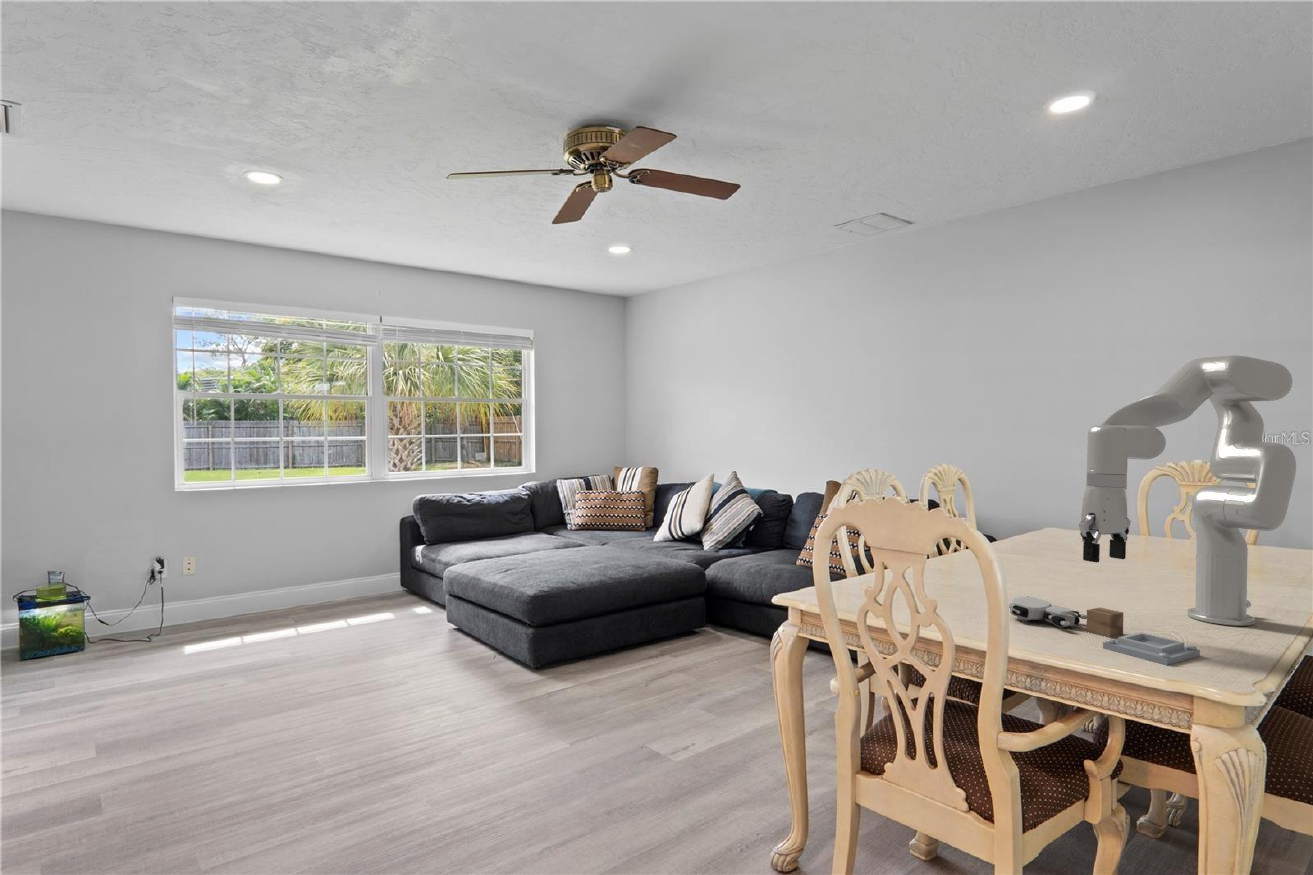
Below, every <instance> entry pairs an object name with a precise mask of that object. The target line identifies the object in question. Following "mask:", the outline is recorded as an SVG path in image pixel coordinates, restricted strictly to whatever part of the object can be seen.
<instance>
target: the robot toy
mask: <svg viewBox="0 0 1313 875" xmlns="http://www.w3.org/2000/svg"><path fill="white" fill-rule="evenodd" d="M1008 606H1009V608H1010V612H1009V613H1010V614H1011V615H1012V616H1014V617H1016V618H1017V619H1018V620H1019V621H1022V622H1030V621H1031V620H1032V621H1038V620H1039V621H1041V620H1045V621H1046V622H1047V623H1049V624H1051V625H1053V626H1055V627H1057V628H1066V627H1069V626H1070V627H1075V626H1077V625H1079V624H1080V622H1081V620H1080V619H1082V620H1087V614H1084V613H1080V611H1077V610H1072V609H1071V608H1067V607H1064V606H1061V605H1060V606H1059V605H1056V604H1055V605H1053V604H1051V602H1049V601H1048V600H1044V599H1042V598H1041V599H1040V598H1036V597H1032V596H1029V595H1028V596H1019V597H1015V598H1013V599H1011V600H1009V602H1008ZM1009 608H1008V609H1009Z"/></svg>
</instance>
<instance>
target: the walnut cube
mask: <svg viewBox="0 0 1313 875" xmlns="http://www.w3.org/2000/svg"><path fill="white" fill-rule="evenodd" d="M1086 615H1087V619H1086V633H1088V632H1089V633H1088V634H1092V635H1095V636H1101V637H1104V636H1105V637H1104V638H1107V639H1111V637H1112V638H1115V636H1116V637H1122V636H1124V612H1123V611H1122V612H1121V611H1118V610H1114V609H1110V608H1105V607H1095V608H1091V609H1087V610H1086Z"/></svg>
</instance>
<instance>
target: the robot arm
mask: <svg viewBox="0 0 1313 875" xmlns="http://www.w3.org/2000/svg"><path fill="white" fill-rule="evenodd" d="M1292 387H1293V376H1292V374H1291V372H1290V371H1289V369H1288V368H1287V367H1285V365H1283V364H1281V363H1278V362H1274V361H1271V360H1270V361H1268V360H1265V359H1260V358H1256V357H1250V356H1245V355H1224V356H1211V357H1199V358H1195V359H1193V360H1189V361H1188V362H1186V363H1185V364H1184V365H1183V366H1182V367H1181V368H1179V369H1178V370H1177V372H1176V373H1174V374H1173V375H1172V376H1171V377H1170V378H1169V379H1168V380H1167V381H1165V383H1164V384H1163V385H1162V386H1161V387H1160V388H1158V390H1156V391H1155V392H1153V393H1151V394H1149V395H1147V396H1145V397H1142V398H1140V399H1137V400H1136V401H1134V402H1131V403H1129V404H1127V405H1125V406H1123V407H1121V408H1119V409H1118V410H1115V412H1113V413H1111V414H1110V415H1109V416H1108V417H1107V418H1106V419H1105V420H1103V422H1101V424H1100V425H1093V426H1091V427H1090V428H1089V429H1088V431H1087V444H1086V446H1087V448H1086V451H1087V452H1086V488H1084V489H1085V490H1084V492H1083V499H1082V504H1081V514H1080V522H1079V523H1078V528H1079V531H1080V533H1079V534H1080V536H1081V542H1082V543H1083V547H1082V550H1083V552H1082V553H1083V554H1082V559H1083V561H1085V562H1091V563H1099V562H1100V552H1101V551H1100V548H1101V547H1100V546H1101V545H1100V543H1099V541H1100V539H1101V537H1102V535H1105V536H1106V535H1110V537H1111V539H1109V558H1113V559H1118V560H1126V557H1127V556H1126V555H1127V554H1126V553H1127V550H1126V549H1127V541H1128V535H1129V532H1130V526H1131V523H1132V521H1131V519H1130V518H1128V503H1127V501H1128V500H1127V493H1126V490H1127V487H1128V485H1127V484H1128V459H1129V460H1142V461H1143V460H1151V459H1155V458H1157V457H1159V456H1161V454H1162V453H1163V452H1164V450H1165V449H1166V446H1167V442H1166V441H1167V440H1166V437H1165V435H1164V434H1163V432H1162V431H1161V430H1159V429H1158V428H1160V427H1164V426H1168V425H1172V424H1176V423H1178V422H1182V421H1184V420H1187V419H1189V418H1190V417H1191V416H1192V415H1193V414H1194V413H1195V412H1196V411H1197V410H1198V409H1199V407H1201V406H1202V405H1203V404H1204V403H1205V402H1206V401H1207V400H1209V401H1210V402H1211V404H1212V406H1213V409H1214V411H1215V413H1216V415H1217V419H1218V420H1217V422H1218V424H1217V430H1216V433H1215V437H1214V442H1213V447H1212V450H1211V455H1210V458H1209V472H1210V474H1211V475H1212V476H1213V477H1214V478H1216V479H1219V480H1221V481H1226V482H1234V483H1235V482H1236V483H1249V484H1255V487H1243V486H1236V485H1235V486H1234V485H1225V484H1224V485H1221V484H1213V485H1206V486H1203V487H1200V488H1199V489H1197V491H1196V492H1194V494H1193V496H1192V499H1191V509H1192V515H1193V519H1194V525H1195V532H1196V536H1195V537H1196V551H1195V552H1196V553H1195V554H1196V556H1195V559H1196V560H1195V562H1196V563H1195V606H1194V607H1191V608H1189V609H1187V616H1188V617H1190V618H1191V619H1194V620H1198V621H1201V622H1206V623H1211V624H1217V625H1225V626H1236V627H1245V626H1253V625H1255V623H1256V618H1255V617H1254V616H1252V615H1249V614H1247V609H1249V608H1251V606H1252V603H1251V601H1250V600H1248V595H1247V594H1248V554H1249V552H1248V545H1247V541H1246V539H1245V537H1244V535H1243V534H1242V533H1241V530H1240V529H1242V530H1243V529H1244V530H1251V531H1259V532H1261V531H1262V532H1271V531H1275V530H1277V529H1278V528H1280V527H1281V525H1282V524H1283V522H1284V520H1285V519H1286V515H1287V513H1288V508H1289V505H1290V499H1291V496H1292V492H1293V491H1292V490H1293V487H1294V483H1295V478H1296V473H1297V461H1296V457H1295V454H1294V452H1293V451H1292V449H1291V448H1290V447H1288V446H1287V445H1285V444H1282V443H1279V442H1269V441H1268V442H1267V441H1262V439H1263V435H1264V434H1263V433H1264V429H1265V425H1264V424H1265V423H1264V420H1263V418H1262V416H1261V414H1260V412H1259V411H1258V410H1257V408H1256V407H1255V406H1254V405H1253V404H1252V403H1251V402H1272V401H1278V400H1279V401H1280V400H1281V399H1283V398H1285V397H1286V396H1287V395H1288V394H1289V393H1290V391H1292V390H1291V389H1292Z"/></svg>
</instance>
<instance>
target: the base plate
mask: <svg viewBox="0 0 1313 875" xmlns="http://www.w3.org/2000/svg"><path fill="white" fill-rule="evenodd" d="M1102 648H1103V649H1106V650H1110V651H1113V652H1118V653H1121V654H1123V655H1127V656H1131V657H1136V658H1139V659H1143V660H1146V661H1149V662H1153V663H1157V664H1161V665H1165V666H1168V665H1172V664H1176V663H1179V662H1183V661H1187V660H1190V659H1191V660H1192V659H1194V658H1196V657H1200V656H1201V649H1199V648H1198V647H1197V646H1196V645H1190V644H1189V645H1188V644H1187V645H1186V646H1185V642H1184V641H1180V640H1175V639H1170V638H1167V637H1163V636H1159V635H1155V634H1150V633H1146V632H1141V631H1140V632H1134V633H1131V634H1127V635H1121V636H1117V638H1115V639H1111V638H1106V640H1105V641H1102Z"/></svg>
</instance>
